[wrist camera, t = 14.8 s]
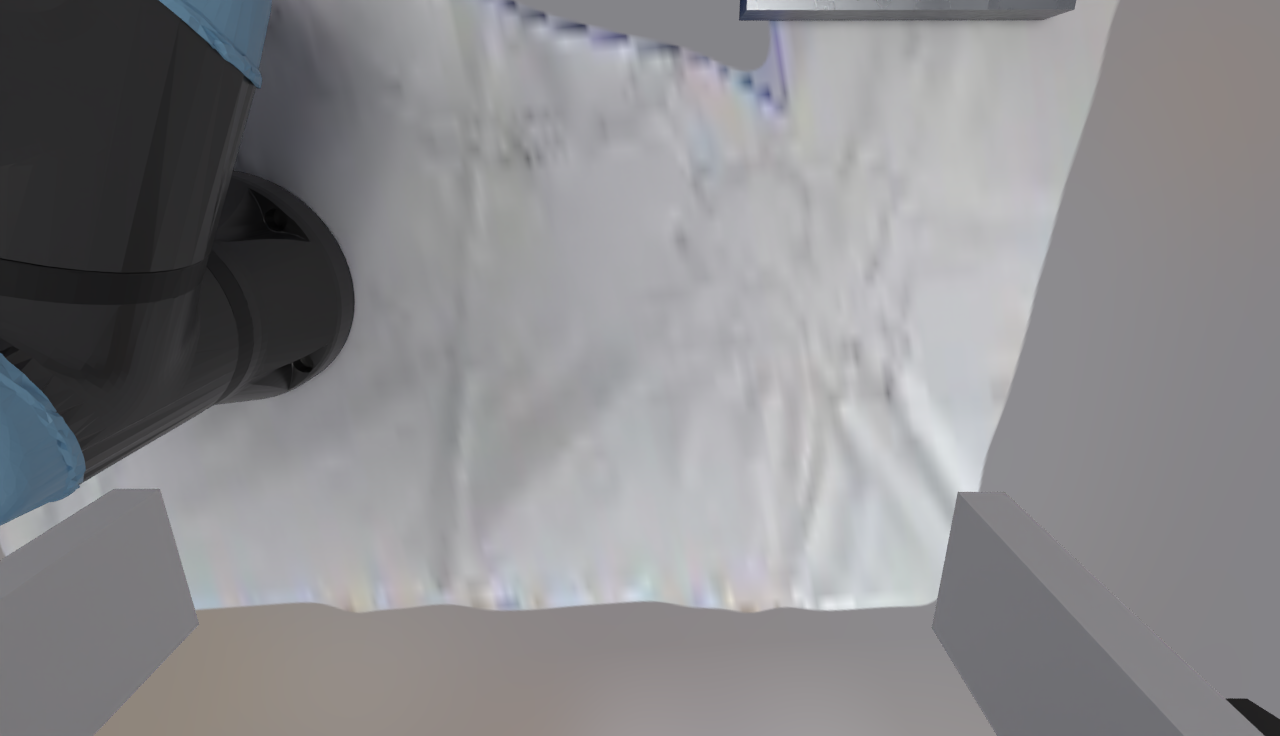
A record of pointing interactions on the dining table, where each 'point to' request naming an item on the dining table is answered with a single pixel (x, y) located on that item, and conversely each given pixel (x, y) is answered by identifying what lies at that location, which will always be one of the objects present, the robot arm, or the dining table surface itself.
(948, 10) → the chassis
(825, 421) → the dining table surface
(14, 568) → the robot arm
